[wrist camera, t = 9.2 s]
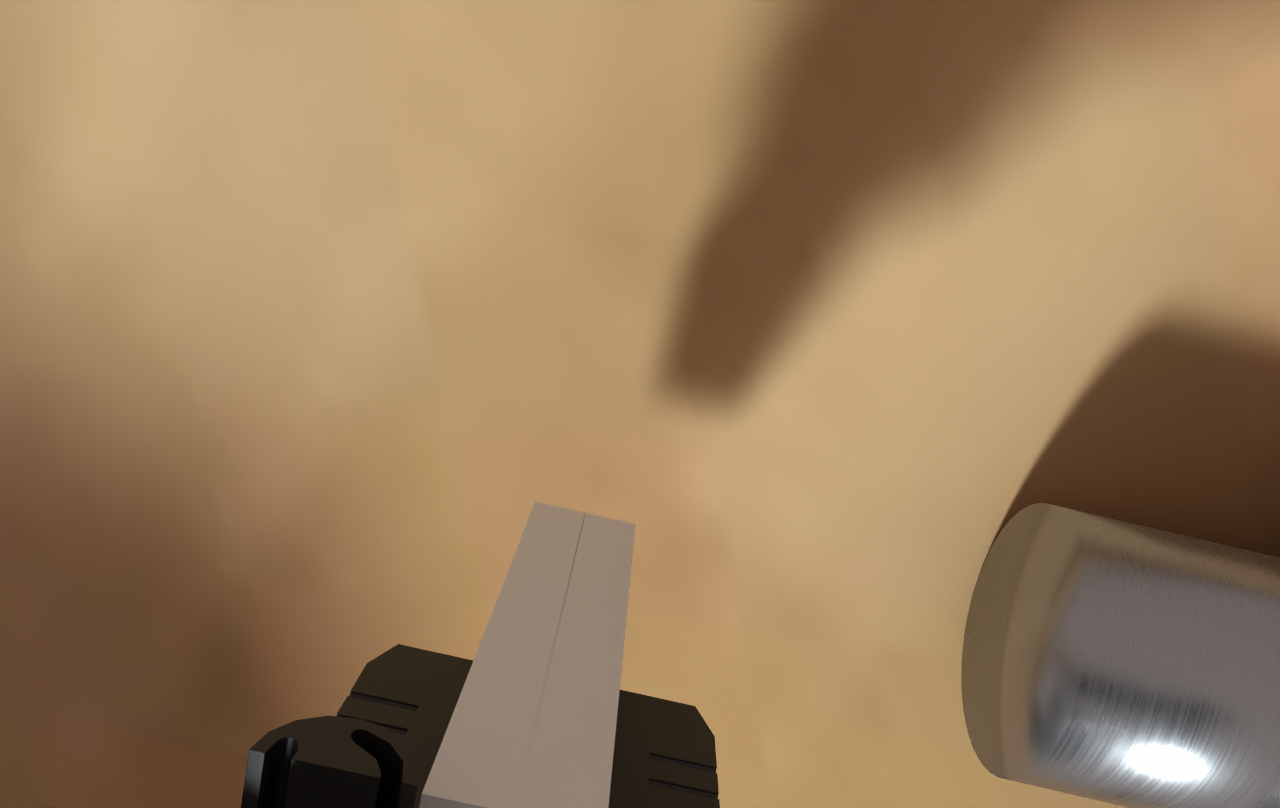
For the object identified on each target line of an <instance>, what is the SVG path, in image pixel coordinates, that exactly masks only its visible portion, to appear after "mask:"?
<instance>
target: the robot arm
mask: <svg viewBox="0 0 1280 808" xmlns="http://www.w3.org/2000/svg"><path fill="white" fill-rule="evenodd" d="M634 534H635V524H633V523H629V522H624V521H620V520H615V519H611V518H606V517H602V516H597V515H593V514H589V513H584V512H580V511H575V510H571V509H566V508H562V507H558V506H553V505H549V504H544V503H540V502H535V503H534V506H533V508H532V511H531V514H530V516H529V519H528V521H527V524H526V527H525V529H524V532H523V534H522V537H521V539H520V542H519V545H518V547H517V550H516V552H515V555H514V557H513V560H512V563H511V565H510V568H509V570H508V573H507V575H506V578H505V581H504V583H503V586H502V588H501V591H500V594H499V596H498V599H497V601H496V604H495V606H494V609H493V612H492V614H491V617H490V619H489V622H488V624H487V627H486V630H485V632H484V635H483V637H482V640H481V642H480V645H479V648H478V650H477V653H476V655H475V658H474V661H472V660H468V659H463V658H459V657H454V656H450V655H445V654H441V653H436V652H431V651H427V650H422V649H418V648H413V647H409V646H404V645H400V644H398V645H396V646H395V647H393V648H391V649H390V650H388V651H386V652H385V653H383V654H382V655H380V656H378V657H377V658H375V659H373V660H372V661H370V662H369V663H367V664H366V666H365V668H364V669H363V671H362V673H361V674H360V676H359V678H358V679H357V681H356V683H355V685H354V686H353V688H352V690H351V692H350V696H347V698H346V700H345V701H344V703H343V705H342V706H341V708H340V710H339V711H338V713H337V717H335V716H324V717H317V718H310V719H302V720H296V721H294V722H291V723H289V724H287V725H284V726H282V727H279V728H277V729H275V730H272V731H270V732H268V733H267V734H266V735H265V736H264V737H263V738H262V739H260V740H259V741H258V742H257V743H256V744H255V745H254V746H253V747H252V748H251V749H249V754H248V761H247V768H246V776H245V783H244V790H243V797H242V804H241V808H720V805H719V799H718V793H719V792H718V778H717V773H716V768H717V765H716V751H715V738H714V735H713V733H712V732H711V730H710V729H709V727H708V726H707V724H706V723H705V721H704V719H703V718H702V716H701V715H700V713H699V712H698V710H697V708H696V707H695V706H691V705H687V704H682V703H678V702H673V701H669V700H664V699H659V698H655V697H650V696H646V695H641V694H637V693H632V692H628V691H623V690H620V680H621V670H622V659H623V649H624V638H625V628H626V617H627V607H628V596H629V586H630V576H631V565H632V555H633V544H634Z"/></svg>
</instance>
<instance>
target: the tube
mask: <svg viewBox="0 0 1280 808" xmlns="http://www.w3.org/2000/svg"><path fill="white" fill-rule="evenodd" d="M961 680H962V699H963V709H964V715H965V721H966V726H967V730H968V734H969V737H970V740H971V743H972V746H973V748H974V750H975V752H976V754H977V756H978V758H979V760H980V761H981V763H982V764H983V766H984V767H985V768H986V769H987V770H988V771H989V772H990V773H992V774H994V775H995V776H997V777H1000V778H1004V779H1008V780H1012V781H1016V782H1021V783H1025V784H1029V785H1034V786H1038V787H1042V788H1047V789H1051V790H1055V791H1060V792H1064V793H1068V794H1073V795H1077V796H1081V797H1086V798H1090V799H1094V800H1099V801H1103V802H1107V803H1112V804H1116V805H1120V806H1125V807H1129V808H1280V557H1275V556H1271V555H1267V554H1262V553H1258V552H1254V551H1249V550H1245V549H1241V548H1237V547H1232V546H1228V545H1224V544H1219V543H1215V542H1211V541H1207V540H1202V539H1198V538H1194V537H1189V536H1185V535H1181V534H1176V533H1172V532H1168V531H1164V530H1159V529H1155V528H1151V527H1146V526H1142V525H1138V524H1133V523H1129V522H1125V521H1121V520H1116V519H1112V518H1108V517H1103V516H1099V515H1095V514H1090V513H1086V512H1082V511H1078V510H1073V509H1069V508H1065V507H1060V506H1056V505H1052V504H1047V503H1035V504H1032V505H1029V506H1027V507H1025V508H1024V509H1022V510H1021V511H1019V512H1018V513H1017V514H1016V515H1015V516H1013V517H1012V518H1011V520H1010V521H1009V522H1008V523H1007V524H1006V525H1005V526H1004V528H1003V529H1002V531H1001V532H1000V534H999V535H998V536H997V538H996V540H995V542H994V543H993V545H992V547H991V549H990V551H989V553H988V555H987V557H986V559H985V561H984V564H983V566H982V569H981V571H980V574H979V577H978V580H977V583H976V586H975V589H974V593H973V596H972V600H971V604H970V608H969V613H968V617H967V623H966V629H965V635H964V643H963V654H962V678H961Z"/></svg>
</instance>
